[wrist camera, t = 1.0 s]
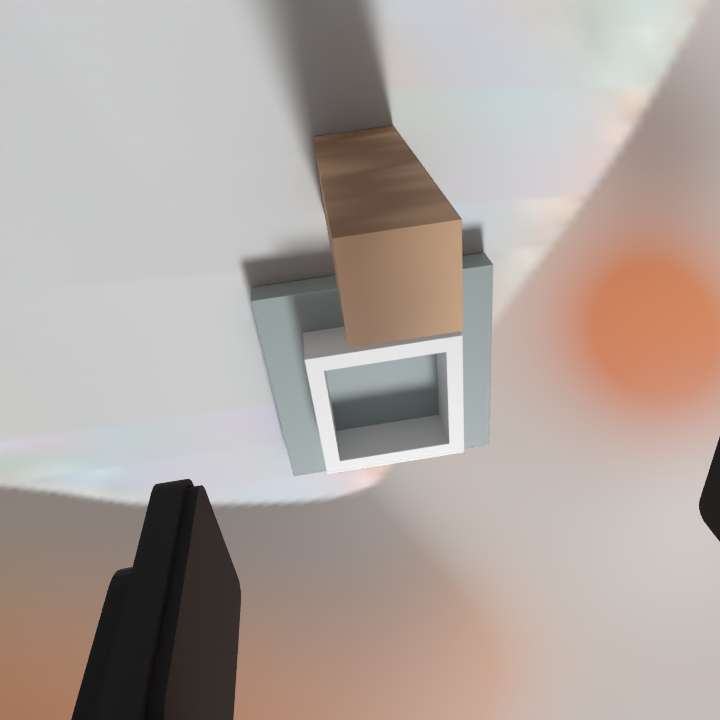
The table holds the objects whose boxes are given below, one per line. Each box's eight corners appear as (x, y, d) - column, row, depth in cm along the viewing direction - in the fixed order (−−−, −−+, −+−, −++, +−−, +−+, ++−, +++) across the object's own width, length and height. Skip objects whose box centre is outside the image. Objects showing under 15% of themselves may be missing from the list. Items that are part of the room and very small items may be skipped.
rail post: (392, 125, 26) (461, 219, 16) (398, 203, 28) (463, 330, 18) (312, 136, 26) (332, 238, 16) (324, 214, 28) (348, 348, 18)
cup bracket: (484, 252, 30) (509, 287, 26) (482, 428, 37) (502, 474, 33) (251, 287, 29) (248, 327, 26) (293, 458, 36) (294, 507, 33)
